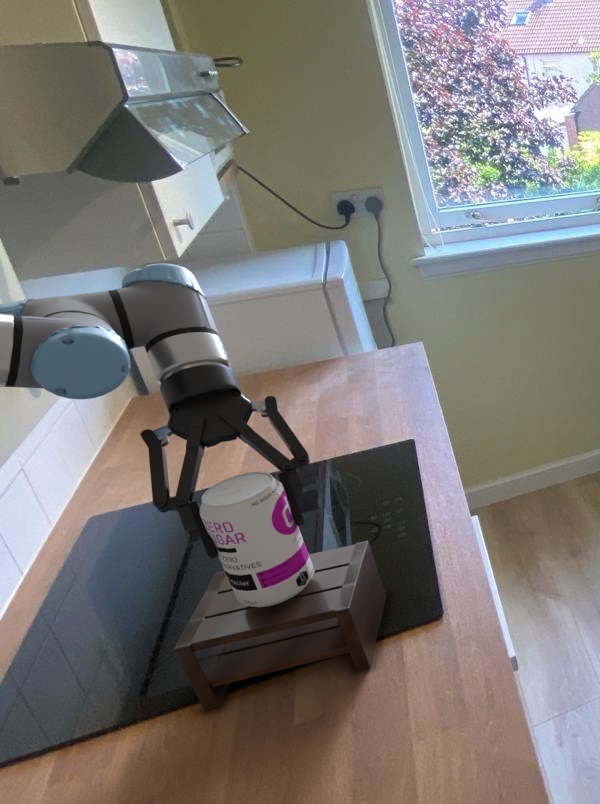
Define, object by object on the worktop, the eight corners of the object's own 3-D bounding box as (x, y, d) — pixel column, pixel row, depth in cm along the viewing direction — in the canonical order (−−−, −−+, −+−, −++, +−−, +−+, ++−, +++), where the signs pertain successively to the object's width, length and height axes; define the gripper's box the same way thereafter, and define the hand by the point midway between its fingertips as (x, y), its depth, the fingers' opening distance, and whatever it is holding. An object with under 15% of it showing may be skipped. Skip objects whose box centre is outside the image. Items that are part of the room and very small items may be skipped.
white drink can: (322, 559, 97) (287, 463, 91) (306, 601, 90) (266, 500, 84) (251, 574, 95) (210, 476, 89) (229, 618, 88) (182, 515, 81)
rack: (204, 711, 88) (173, 649, 84) (241, 630, 100) (215, 572, 96) (370, 668, 94) (348, 608, 90) (386, 596, 106) (368, 540, 102)
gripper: (295, 364, 102) (355, 510, 97) (95, 416, 89) (154, 585, 85) (290, 340, 96) (354, 493, 91) (76, 391, 83) (138, 572, 79)
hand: (258, 537), depth 88 cm, fingers closed on white drink can, 8 cm apart
